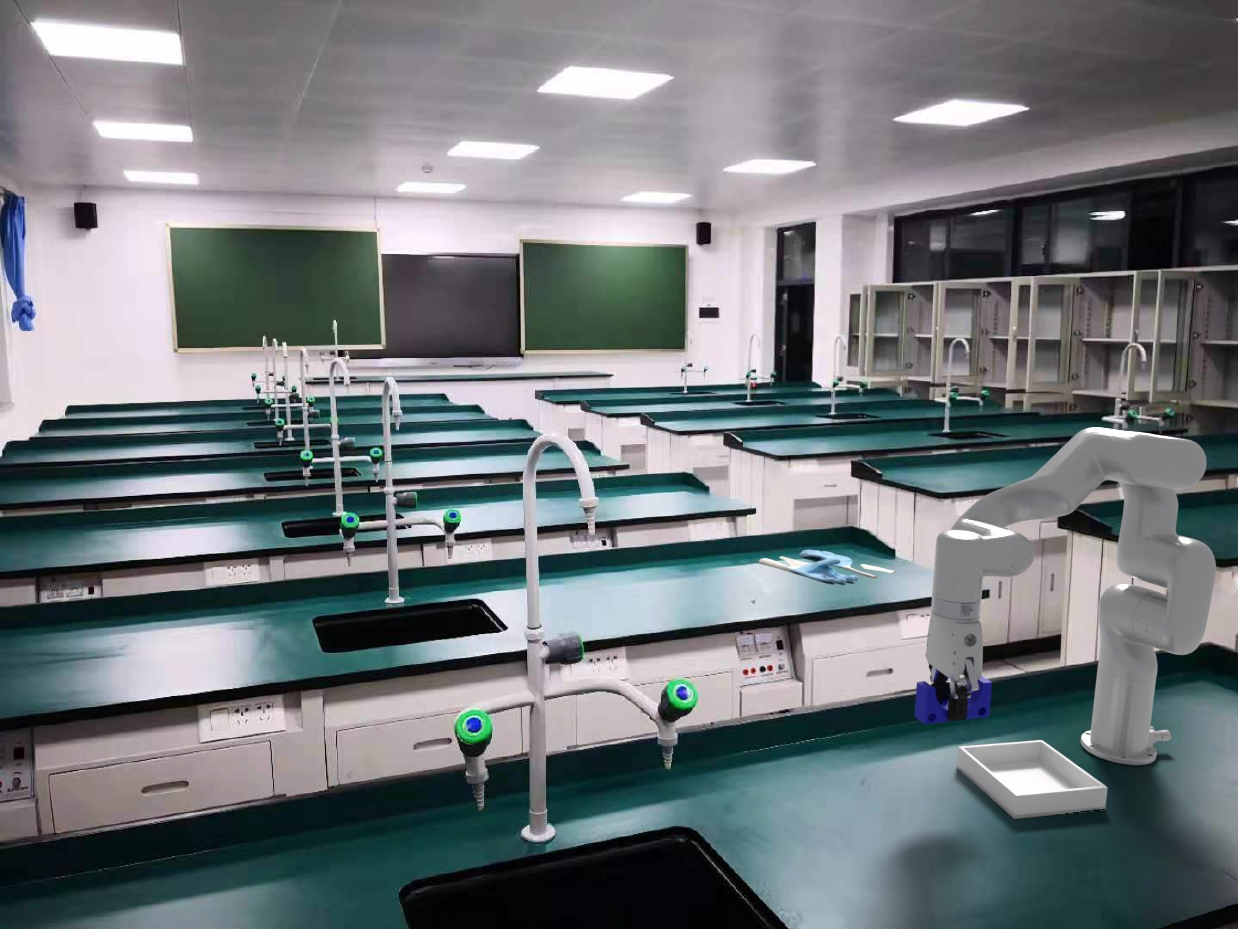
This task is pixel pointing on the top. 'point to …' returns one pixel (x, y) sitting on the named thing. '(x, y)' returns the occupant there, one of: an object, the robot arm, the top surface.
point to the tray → (1031, 779)
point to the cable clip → (936, 713)
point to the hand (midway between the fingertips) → (947, 711)
